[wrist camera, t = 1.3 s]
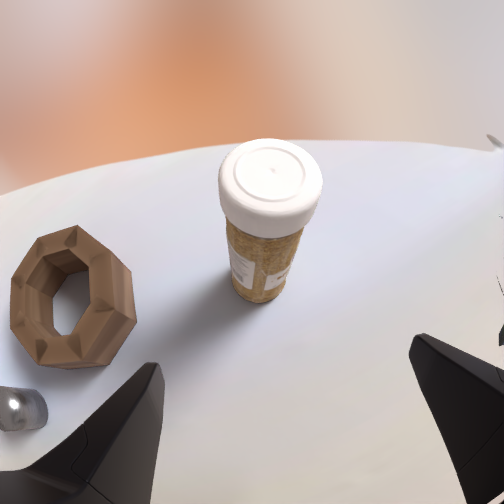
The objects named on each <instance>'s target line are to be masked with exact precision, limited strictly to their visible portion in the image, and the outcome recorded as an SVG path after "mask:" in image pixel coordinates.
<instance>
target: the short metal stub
mask: <svg viewBox="0 0 504 504" xmlns="http://www.w3.org/2000/svg"><path fill="white" fill-rule="evenodd" d="M47 420H48V409H47V405H46V402H45V400H44V398H43V397H42V396H41V394H40V393H39V392H37V391H36V390H34V389H27V388H14V387H4V386H0V429H1V430H3V431H17V430H27V429H36V428H42V427H44V426H45V425H46V423H47Z"/></svg>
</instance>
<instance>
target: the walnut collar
mask: <svg viewBox="0 0 504 504" xmlns="http://www.w3.org/2000/svg"><path fill="white" fill-rule="evenodd" d="M85 270H89V286H90V305H89V306H88V308H87V309H86V311H85V312H84V314H83V315H82V317H81V319H80V320H79V322H78V323H77V325H76V326H75V328H74V330H73V331H72V333H71V334H70V335H64V336H61V335H60V334H59V333H58V332H57V331H56V329H55V328H54V325H53V297H54V295H55V294H56V292H57V290H58V289H59V287H60V286H61V284H62V283H63V281H64V280H65V278H66V277H67V275H69V274H73V273H77V272H81V271H85ZM136 323H137V319H136V312H135V304H134V296H133V287H132V277H131V271H130V270H129V269H128V268H127V267H126V266H125V265H124V264H123V263H122V262H121V261H120V260H119V259H118V258H117V257H116V256H115V255H114V254H113V252H112V251H110V250H109V249H108V248H106V247H105V246H104V245H102V244H101V243H100V242H98V241H97V240H96V239H94V238H93V237H92V236H91V235H89V234H88V233H87V232H86V231H84V230H83V229H82V228H81V227H79V226H78V225H76V226H73V227H69V228H66V229H63V230H60V231H57V232H54V233H51V234H48V235H45V236H42V237H39V238H37V240H36V241H35V243H34V244H33V245H32V247H31V248H30V250H29V251H28V253H27V254H26V256H25V257H24V259H23V260H22V262H21V263H20V265H19V267H18V268H17V270H16V271H15V273H14V275H13V276H12V278H11V295H10V329H11V330H12V332H13V333H14V334H15V336H16V337H17V339H18V340H19V341H20V343H21V344H22V345H23V347H24V348H25V349H26V351H27V352H28V353H29V354H30V356H31V357H32V358H33V359H34V361H35V362H36V363H37V364H38V365H42V366H48V367H54V368H61V369H75V368H85V367H94V366H103V365H109V364H110V363H111V361H112V360H113V358H114V356H115V355H116V353H117V352H118V350H119V349H120V347H121V346H122V344H123V342H124V341H125V339H126V338H127V336H128V335H129V333H130V332H131V330H132V329H133V327H134V326H135V324H136Z"/></svg>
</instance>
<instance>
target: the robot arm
mask: <svg viewBox="0 0 504 504" xmlns="http://www.w3.org/2000/svg"><path fill="white" fill-rule="evenodd" d="M409 359H410V362H411V364H412V367H413V370H414V372H415V375H416V378H417V380H418V383H419V386H420V389H421V391H422V393H423V395H424V397H425V400H426V402H427V404H428V406H429V408H430V410H431V412H432V415H433V417H434V419H435V421H436V424H437V426H438V428H439V431H440V433H441V435H442V438H443V440H444V442H445V445H446V447H447V450H448V452H449V455H450V457H451V460H452V462H453V465H454V468H455V470H456V473H457V476H458V479H459V482H460V485H461V487H462V490H463V493H464V496H465V499H466V503H467V504H487V503H489V502H490V501H491V500H493V499H494V498H496V497H497V496H498V495H500V494H501V493H502V492H504V370H502V369H500V368H498V367H495V366H494V365H491V364H489V363H487V362H485V361H483V360H481V359H479V358H476V357H474V356H472V355H470V354H468V353H466V352H464V351H462V350H459V349H457V348H455V347H453V346H451V345H449V344H447V343H445V342H442V341H440V340H438V339H436V338H434V337H432V336H430V335H427V334H425V333H422V334H418V335H415V337H414V338H413V341H412V344H411V347H410V350H409ZM164 390H165V381H164V378H163V374H162V371H161V368H160V365H159V364H158V363H156V362H147V363H145V364H144V365H143V366H142V367H141V368H140V369H139V370H138V371H137V372H136V373H135V374H134V375H133V376H131V377H130V378H129V379H128V380H127V381H126V382H125V383H124V384H123V385H122V386H121V387H120V388H119V389H118V390H117V391H116V392H115V393H114V394H113V395H112V396H111V397H110V398H109V399H108V400H107V401H105V402H104V403H103V404H102V405H101V406H100V407H99V408H98V409H97V410H96V411H95V412H94V413H93V414H92V415H91V416H90V417H89V418H88V419H87V420H86V421H85V422H84V424H81V425H80V426H79V427H78V428H77V429H76V430H75V431H74V432H73V433H72V434H71V435H69V436H68V437H67V438H66V439H65V440H64V441H62V442H61V443H60V444H59V445H57V446H56V447H55V448H53V449H52V450H51V451H49V452H48V453H47V454H45V455H44V456H43V457H41V458H40V459H39V460H37V461H36V462H34V463H33V464H32V465H30V466H28V467H26V468H24V469H21V470H15V471H0V504H150V499H151V492H152V485H153V478H154V471H155V465H156V459H157V452H158V447H159V441H160V435H161V429H162V421H163V405H164ZM499 504H504V500H503V501H502V502H500V503H499Z"/></svg>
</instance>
